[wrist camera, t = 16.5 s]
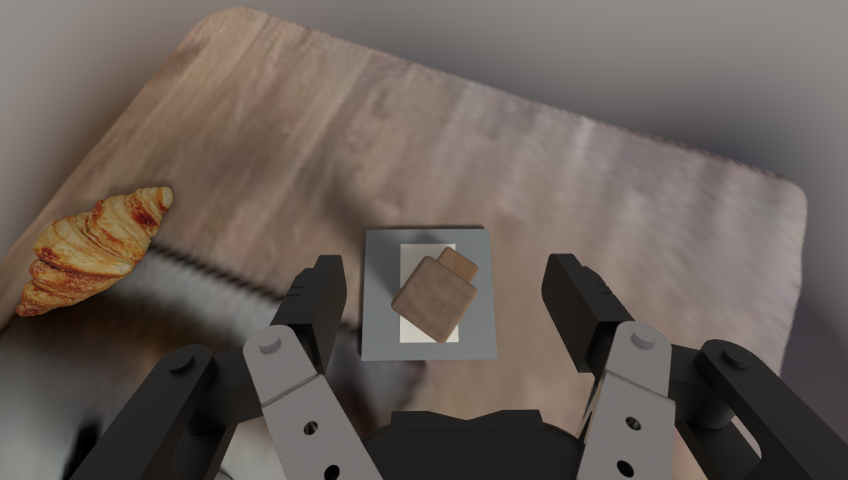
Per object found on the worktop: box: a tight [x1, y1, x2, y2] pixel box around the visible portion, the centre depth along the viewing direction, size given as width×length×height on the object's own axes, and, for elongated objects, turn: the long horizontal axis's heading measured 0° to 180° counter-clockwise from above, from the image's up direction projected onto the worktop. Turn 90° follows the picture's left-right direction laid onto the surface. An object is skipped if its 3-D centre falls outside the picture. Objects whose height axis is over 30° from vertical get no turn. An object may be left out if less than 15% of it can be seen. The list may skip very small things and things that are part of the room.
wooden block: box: [391, 246, 479, 344], centre depth 31 cm, size 9×4×18 cm, turn 145°
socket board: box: [361, 229, 497, 361], centre depth 40 cm, size 16×16×1 cm
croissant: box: [15, 186, 173, 316], centre depth 39 cm, size 21×10×8 cm, turn 141°
